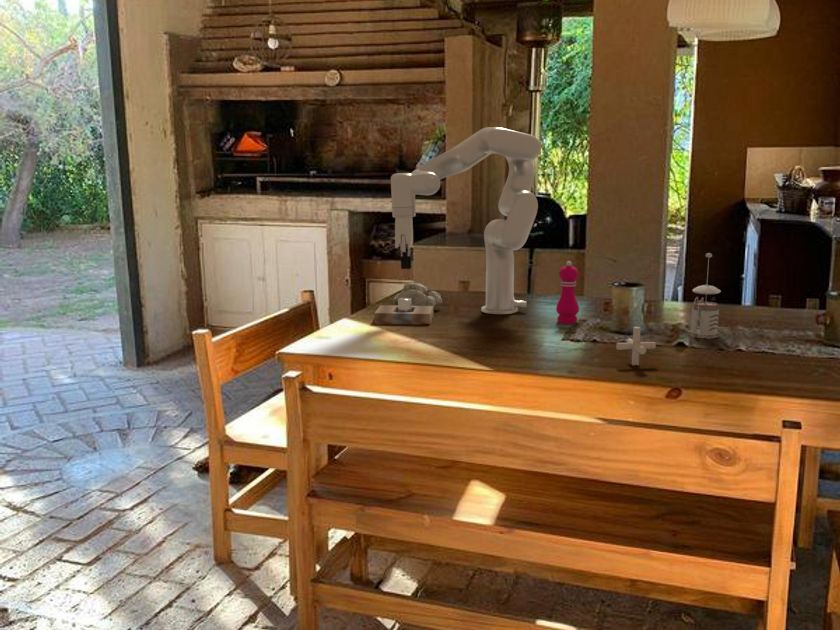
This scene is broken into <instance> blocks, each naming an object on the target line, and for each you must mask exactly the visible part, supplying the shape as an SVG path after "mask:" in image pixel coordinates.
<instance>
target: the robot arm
mask: <svg viewBox="0 0 840 630" xmlns="http://www.w3.org/2000/svg"><path fill="white" fill-rule="evenodd" d="M541 151H542V145H541V142H540V140H539V139H538V138H537V137H536V136H535V135H534V134H529V133H525V132H520V131H516V130H512V129H508V128H504V127H498V126H492V127H491V126H489V127H487V126H486V127H484V128H481V129H479V130H478V131H476V132H475V133H473V134H472V135H470V136H469V137H468V138H466V139H464V140H463V141H461V142H460V143H458V144H457V145H455V146H454V147H452V148H450V149H449V150H446V151H445V152H443V153H441V154H439V155H438V156H435V157H433V158H431V159H429V160H428V161H426V162H425V163H423V164H421V165H420V166H418V167H417V168H415V169H413V170H412V172H411V173H410V172H399V173H397V172H396V173H393V174H392V175H391V176H390V191H391V193H390V194H391V212H392V218H395V219H394V220H395V221H394V228H395V229H394V237H395V238H394V244H395V245H394V246H395V249H399V247H400V268H401V270H404V269H405V270H410V269H412V255H411V247H412V246H413V244H414V228H413V227H414V224H413V218H415V217H416V215H417V214H416V212H417V211H416V195H420V196H432V195H435V194H437V192H438V191H439V190H440V188H441V180H442V179H443V180H444V179H445V178H447V177H449V176H454V175H458V174H461V173H464V172H466V171H468V170H469V169H471V168H472V167H474V166H476V165H477V164H478V163H480V162H481V161H483V160H485V159H486V158H487V157H489V156H490V155H501V156H504V157H505V159H506V161H507V163H508V175H507V179H506V182H505V184H504V186H503V190H502V192H501V195H500V197H499V200H498V204H497V207H498V210H499V213H501V214H502V215H503V216H505V217H507V218H506V219H502V218H499V219H498V218H497V219H493V220H491V221H489V222H488V224H487V225H486V226H485V229H484V232H483V237H484V238H483V239H484V240H483V241H484V246H485V247H484V248H485V262H486V263H485V305H483V306H481V307H480V308H481V309H480V311H481V312H482V313H485V314H490V315H512V314H516V313H517V312H518V311H519V308H518V307H521V308H526V307H527V306H528V305H527V301H526V300H525V301H524V300H518V299H515V296H514V295H515V294H514V292H515V291H514V288H515V286H514V284H515V282H514V281H515V254H514V251H518V250H519V249H522V247H523V246H524V245H525V244H526V242H527V240H528V238H529V235H530V233H531V230H532V228H533V225H534V222H535V220H536V216H537V214H538V209H539V204H538V199H537V197H536V195H535V194H534V193H533V192H531V191H530V190H531V187H532V185H533V182H534V175H535V168H534V164H533V161H534V160H535V159H537V158H538V157H539V155H540V153H541Z"/></svg>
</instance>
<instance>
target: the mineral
mask: <svg viewBox="0 0 840 630" xmlns="http://www.w3.org/2000/svg"><path fill="white" fill-rule="evenodd" d="M428 290H429V286H427V285H423V284H422V283H416V282H408V283H405V284H404V285H403V288H402V289H401V292H400V293H397V294H396V295H394V297H393V299H392V303H393V304H394V306H398V299H399V298H411V306H434V307H435V306H436V304H441V303H443V299H442V297H441V296H442V295H441V294H440V293H439V292H437V291H434V290H430V291H429V292H428Z"/></svg>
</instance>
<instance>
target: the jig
mask: <svg viewBox="0 0 840 630" xmlns="http://www.w3.org/2000/svg"><path fill="white" fill-rule="evenodd" d="M434 308H435V305H434V306H412V305H411V312H398V306H395V305H393V304H392V305H390V304H388V305H384V304H383V305H381V304H380V305H379V306H378V308H377V309H376V310H375V312H374V324H376V325H379V324H380V325H382V324H383V325H422V324H430V323H431V324H432V321H433V319H432V318H434V311H435V310H434ZM431 324H430V325H431Z"/></svg>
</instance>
